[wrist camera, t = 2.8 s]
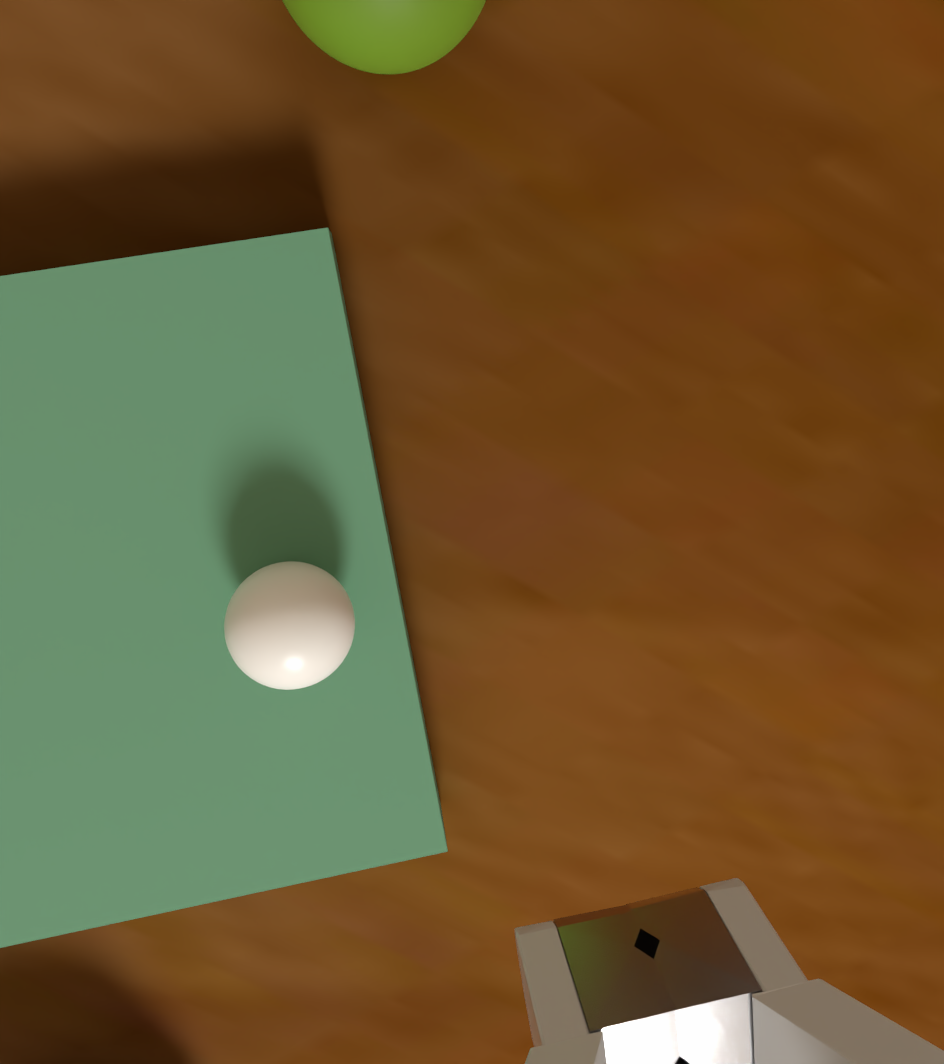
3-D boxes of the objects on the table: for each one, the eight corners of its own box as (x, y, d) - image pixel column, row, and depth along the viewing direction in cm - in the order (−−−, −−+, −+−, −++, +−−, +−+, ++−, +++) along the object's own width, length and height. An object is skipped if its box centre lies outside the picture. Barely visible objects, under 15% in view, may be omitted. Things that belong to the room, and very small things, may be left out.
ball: (342, 534, 23) (339, 577, 19) (365, 642, 24) (365, 699, 21) (222, 556, 22) (197, 603, 19) (250, 664, 24) (232, 726, 20)
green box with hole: (331, 233, 23) (322, 218, 17) (440, 805, 29) (457, 919, 24) (-411, 343, 21) (-665, 363, 16) (-122, 923, 27) (-236, 1073, 22)
